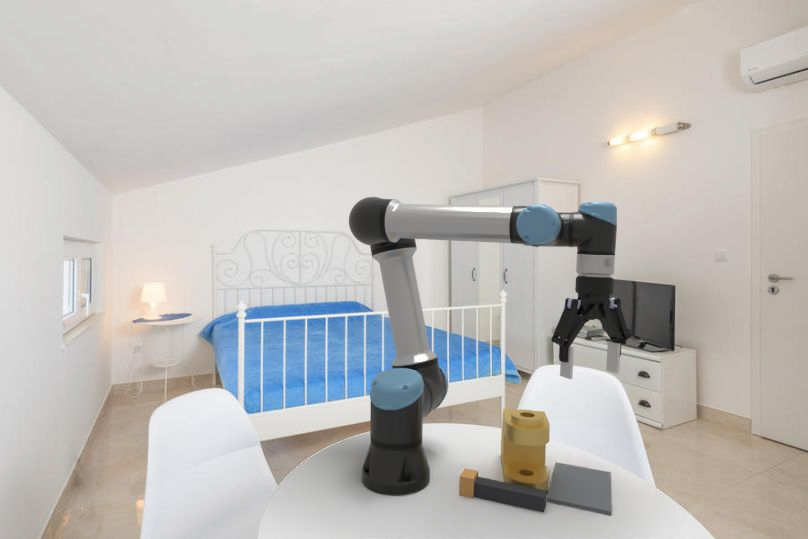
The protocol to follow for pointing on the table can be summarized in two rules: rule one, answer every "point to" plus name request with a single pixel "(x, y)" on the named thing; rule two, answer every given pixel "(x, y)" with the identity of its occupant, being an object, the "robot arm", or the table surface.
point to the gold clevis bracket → (525, 448)
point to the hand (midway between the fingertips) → (589, 374)
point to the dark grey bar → (501, 491)
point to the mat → (581, 488)
